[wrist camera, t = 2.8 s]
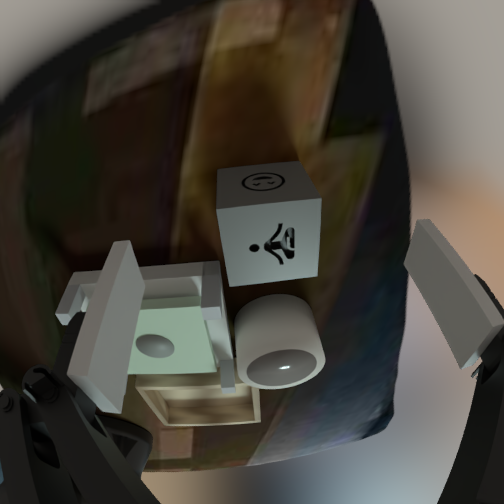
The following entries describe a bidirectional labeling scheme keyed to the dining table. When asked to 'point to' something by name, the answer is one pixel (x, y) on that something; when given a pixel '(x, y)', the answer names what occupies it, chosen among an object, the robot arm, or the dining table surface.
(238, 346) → the cup
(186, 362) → the plate
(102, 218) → the dining table surface
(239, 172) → the dice cube
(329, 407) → the dining table surface
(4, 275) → the dining table surface
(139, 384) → the trough
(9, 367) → the dining table surface
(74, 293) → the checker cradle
